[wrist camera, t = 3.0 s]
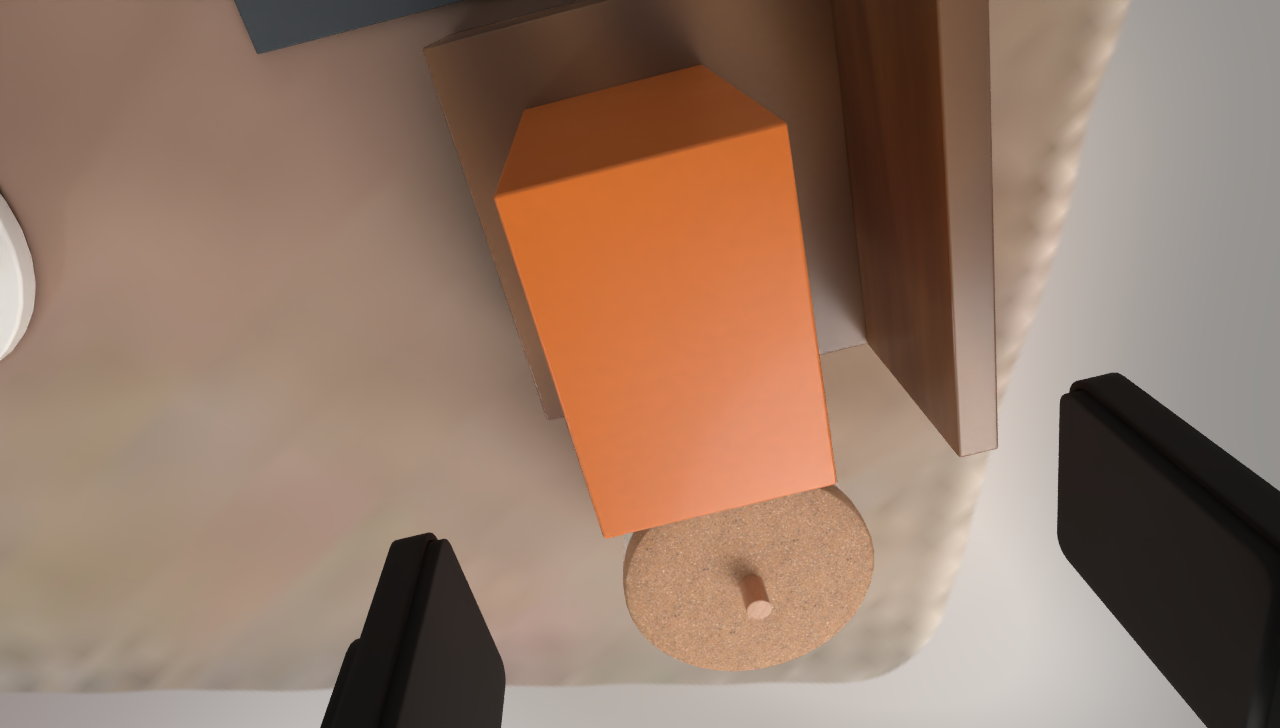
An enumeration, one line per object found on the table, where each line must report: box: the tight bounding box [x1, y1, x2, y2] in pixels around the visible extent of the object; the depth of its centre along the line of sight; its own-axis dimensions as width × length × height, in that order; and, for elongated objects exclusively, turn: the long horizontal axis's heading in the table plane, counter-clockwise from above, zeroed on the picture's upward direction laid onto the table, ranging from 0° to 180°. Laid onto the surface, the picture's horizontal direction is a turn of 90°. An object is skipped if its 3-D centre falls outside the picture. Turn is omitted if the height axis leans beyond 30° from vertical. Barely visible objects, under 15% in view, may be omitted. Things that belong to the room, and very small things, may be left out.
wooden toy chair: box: [423, 0, 998, 457], centre depth 26 cm, size 14×14×14 cm
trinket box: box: [623, 481, 874, 671], centre depth 35 cm, size 11×11×9 cm
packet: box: [494, 65, 837, 538], centre depth 22 cm, size 6×9×11 cm, turn 13°
